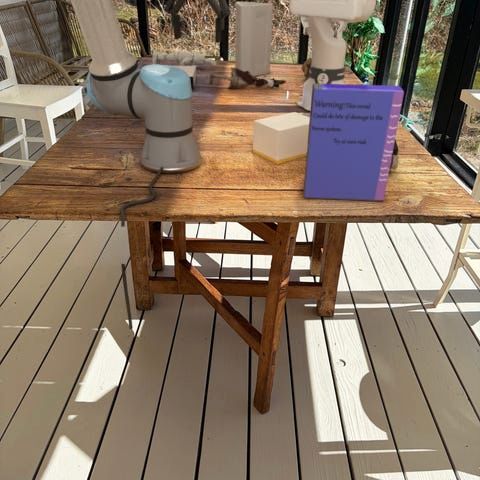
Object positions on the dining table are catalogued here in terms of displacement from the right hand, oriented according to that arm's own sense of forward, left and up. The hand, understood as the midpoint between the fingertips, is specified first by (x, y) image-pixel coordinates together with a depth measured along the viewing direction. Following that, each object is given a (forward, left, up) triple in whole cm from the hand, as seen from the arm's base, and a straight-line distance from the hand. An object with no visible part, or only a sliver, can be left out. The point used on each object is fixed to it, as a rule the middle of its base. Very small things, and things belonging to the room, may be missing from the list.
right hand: (322, 36), depth 126 cm
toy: (-77, -80, -28) cm, 114 cm away
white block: (-79, -47, -28) cm, 96 cm away
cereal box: (+34, +15, -28) cm, 47 cm away
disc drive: (-45, -70, -28) cm, 87 cm away
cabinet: (+13, -4, -28) cm, 31 cm away
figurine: (-50, -39, -28) cm, 70 cm away
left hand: (-5, -39, -4) cm, 39 cm away
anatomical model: (-77, -19, -28) cm, 85 cm away
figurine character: (+14, +21, -28) cm, 38 cm away
